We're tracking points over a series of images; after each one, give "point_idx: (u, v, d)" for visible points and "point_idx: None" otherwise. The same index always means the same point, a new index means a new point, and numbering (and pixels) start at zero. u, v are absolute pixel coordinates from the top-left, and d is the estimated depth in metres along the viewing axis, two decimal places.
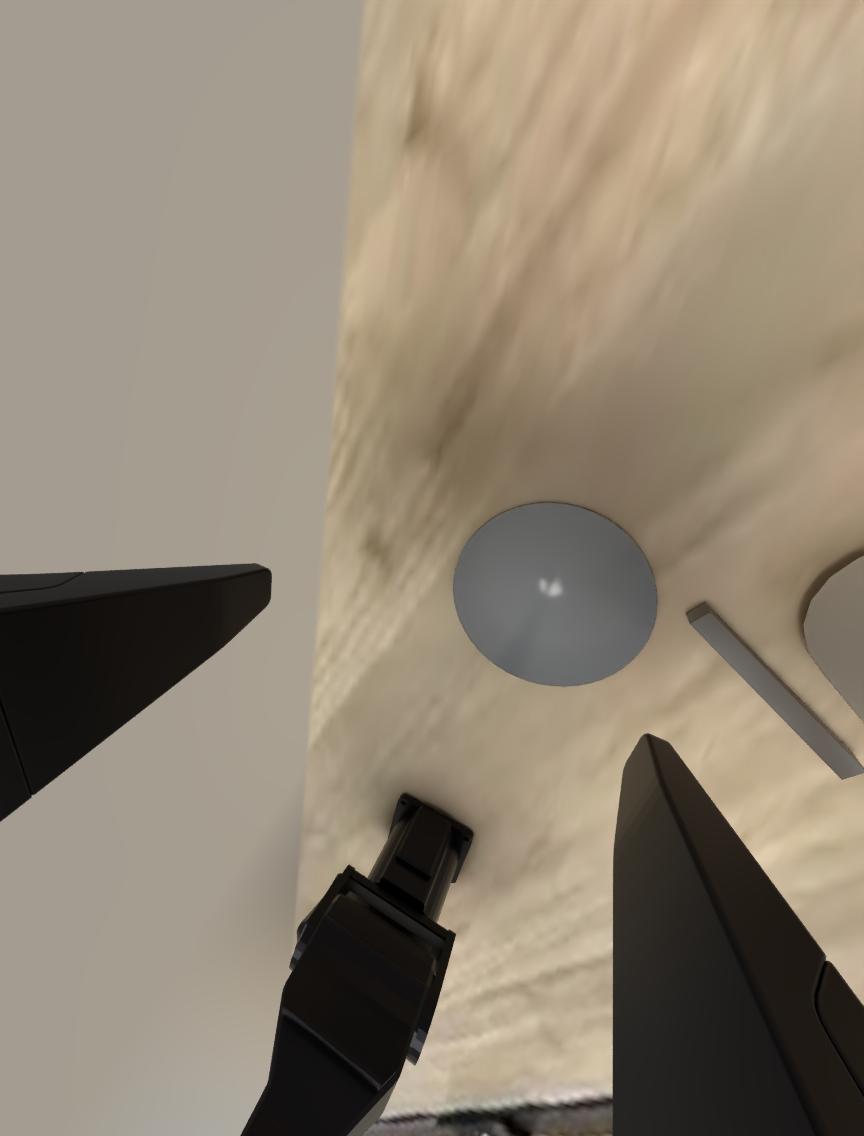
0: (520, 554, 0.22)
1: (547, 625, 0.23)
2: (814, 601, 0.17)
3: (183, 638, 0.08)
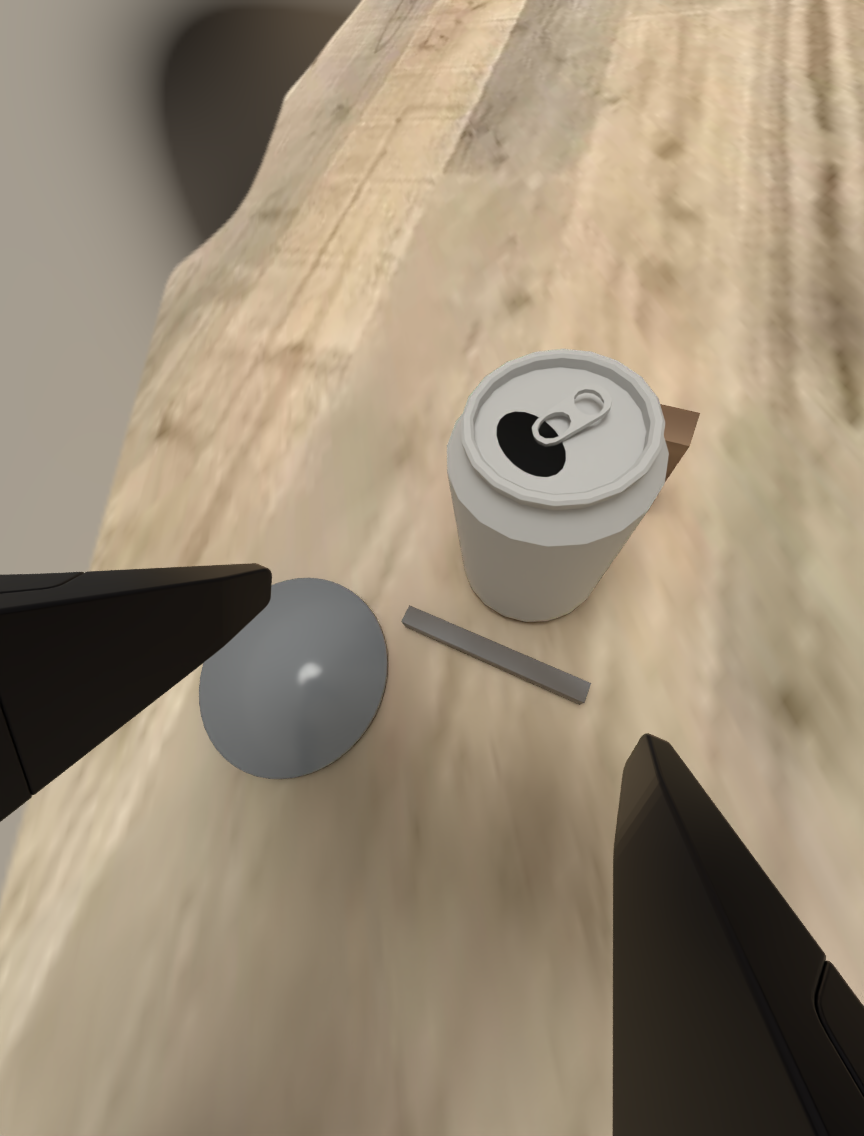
0: (259, 635, 0.24)
1: (298, 693, 0.22)
2: (464, 567, 0.23)
3: (183, 638, 0.08)
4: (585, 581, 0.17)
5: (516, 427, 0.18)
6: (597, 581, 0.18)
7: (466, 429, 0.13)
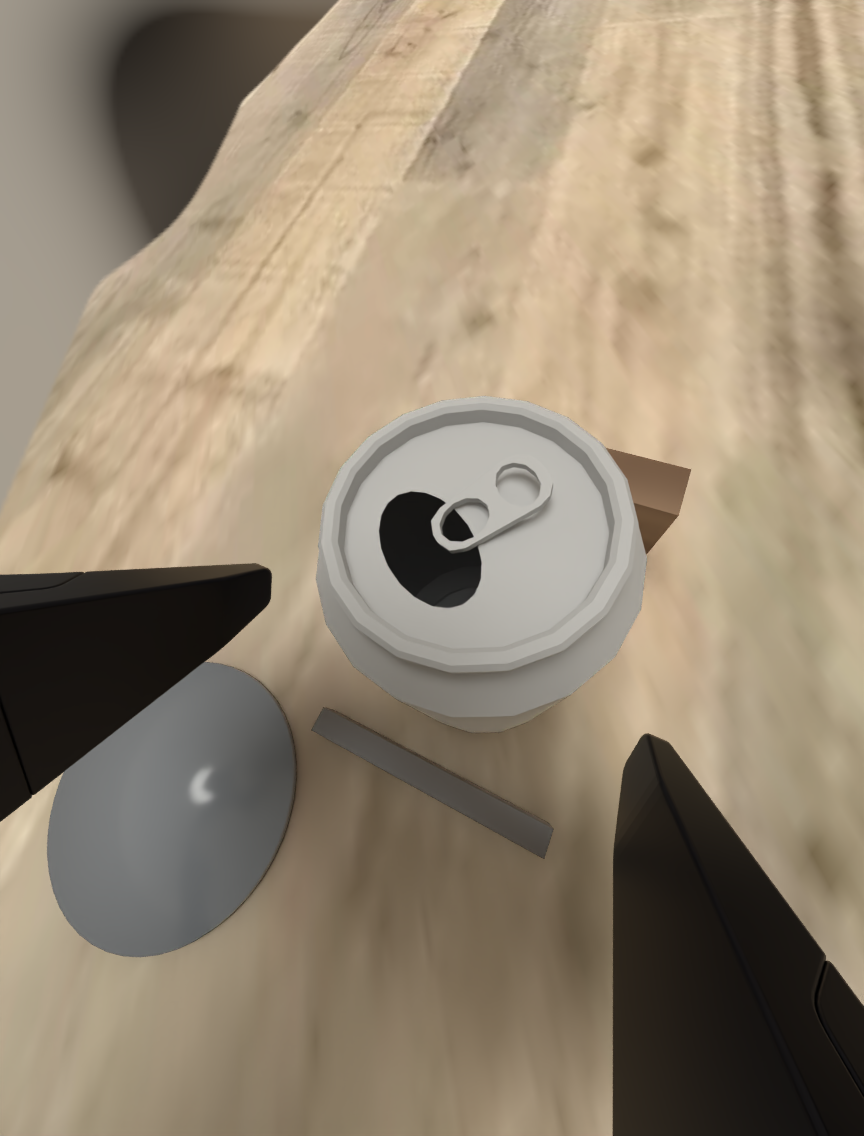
0: (135, 741, 0.18)
1: (175, 827, 0.17)
2: None
3: (183, 638, 0.08)
4: (536, 714, 0.12)
5: None
6: None
7: (327, 524, 0.08)
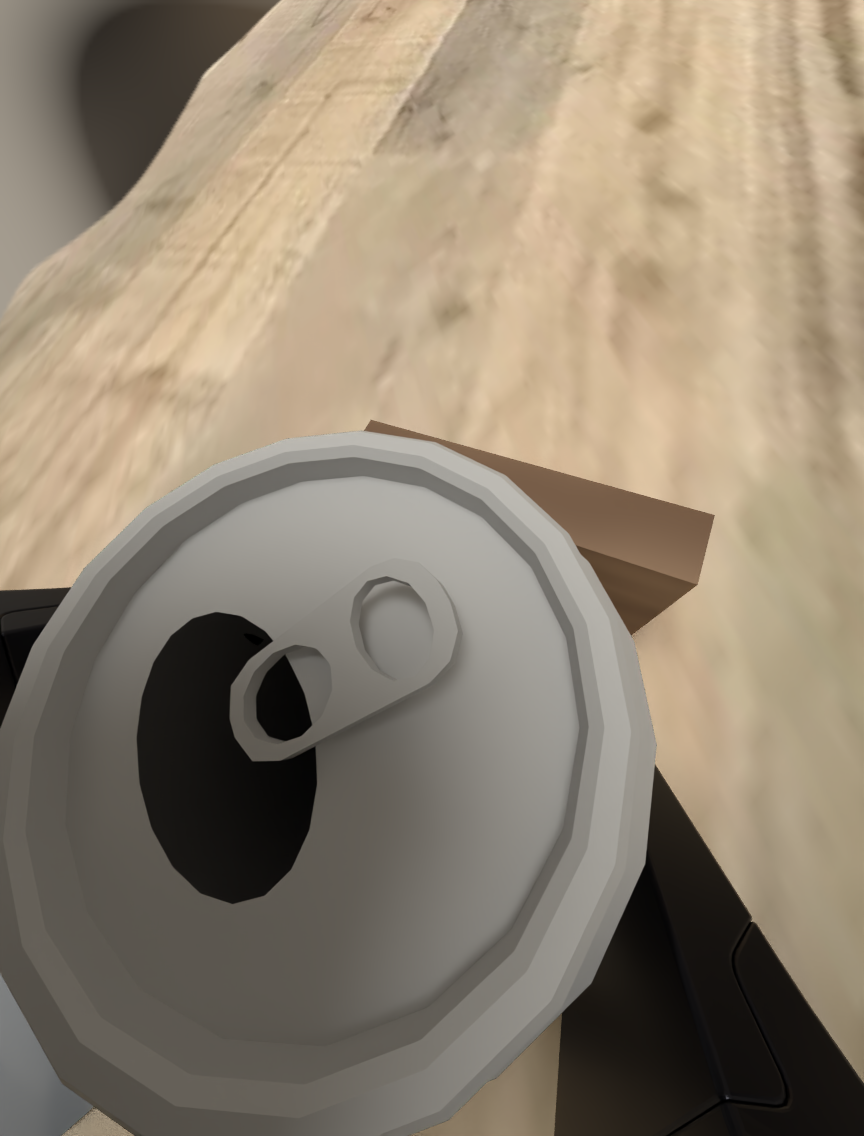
0: None
1: None
2: None
3: None
4: None
5: None
6: None
7: (21, 696, 0.04)
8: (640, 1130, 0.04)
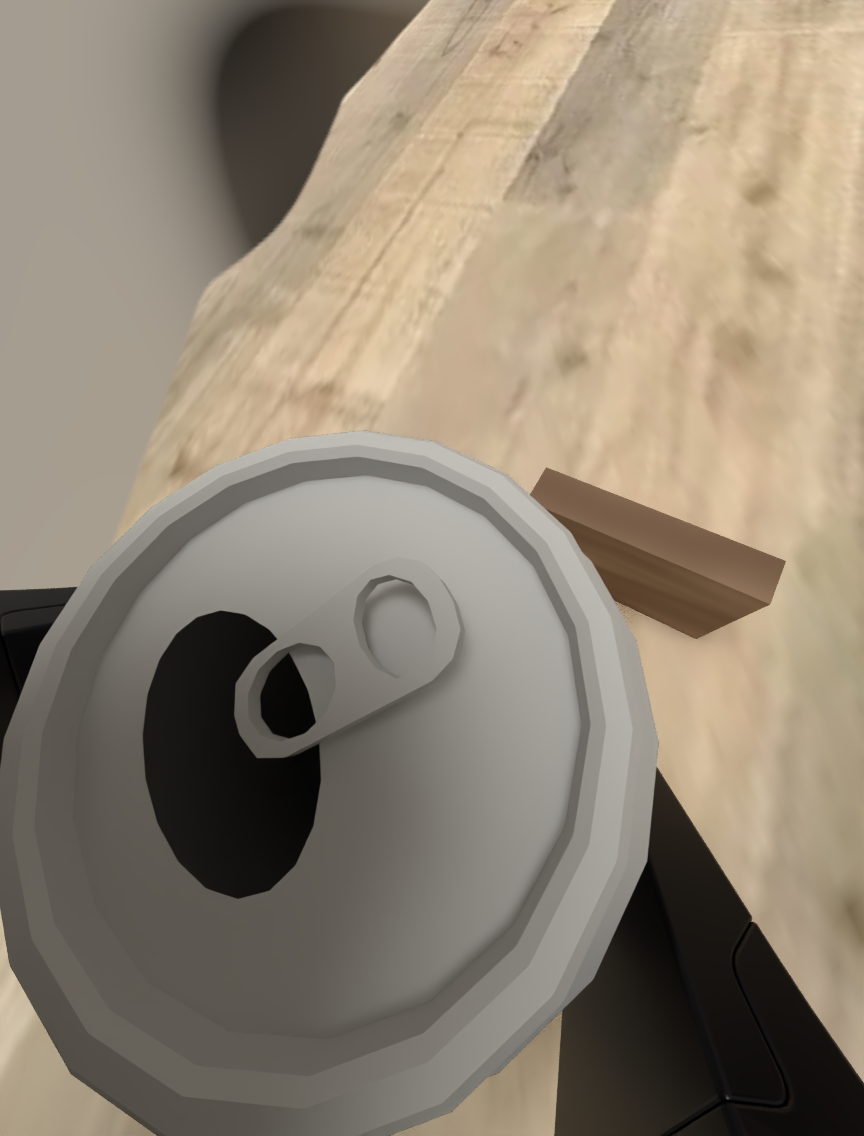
0: None
1: None
2: None
3: None
4: None
5: None
6: None
7: (29, 693, 0.04)
8: (640, 1130, 0.04)
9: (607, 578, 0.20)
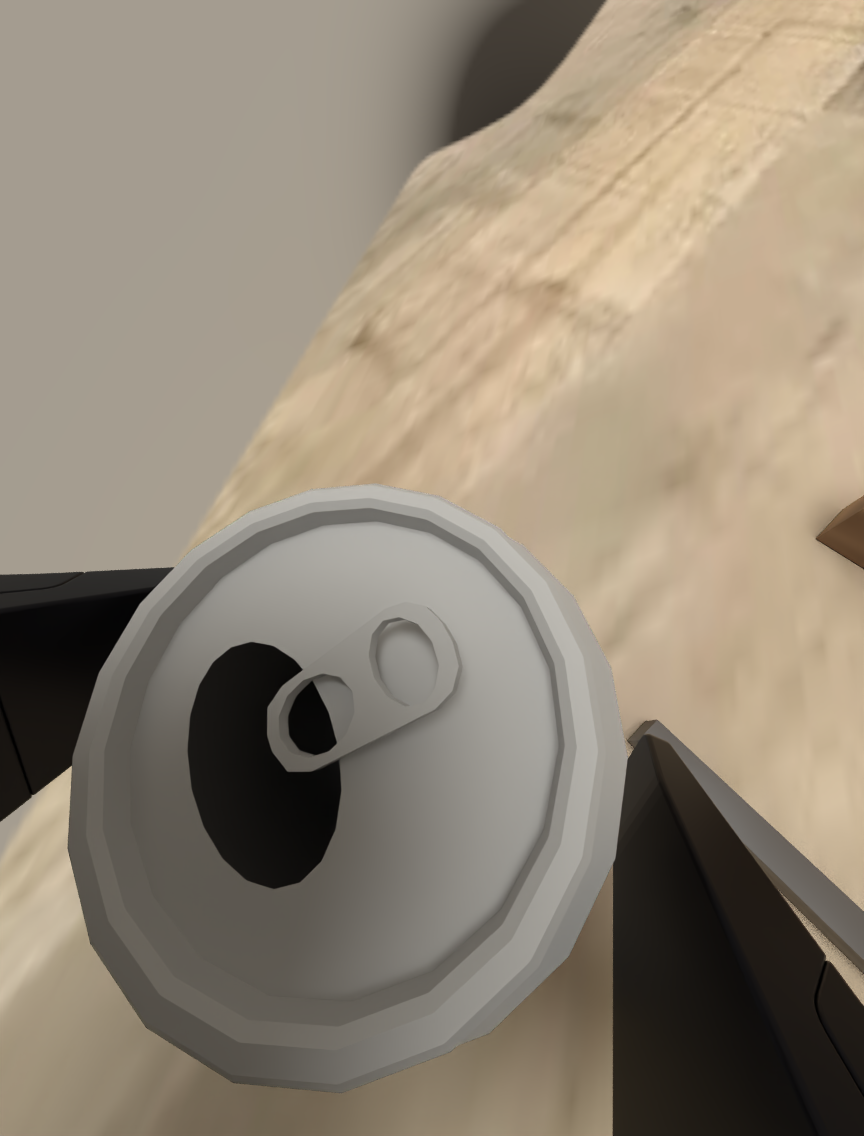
0: None
1: None
2: None
3: None
4: None
5: None
6: None
7: (92, 715, 0.05)
8: None
9: None
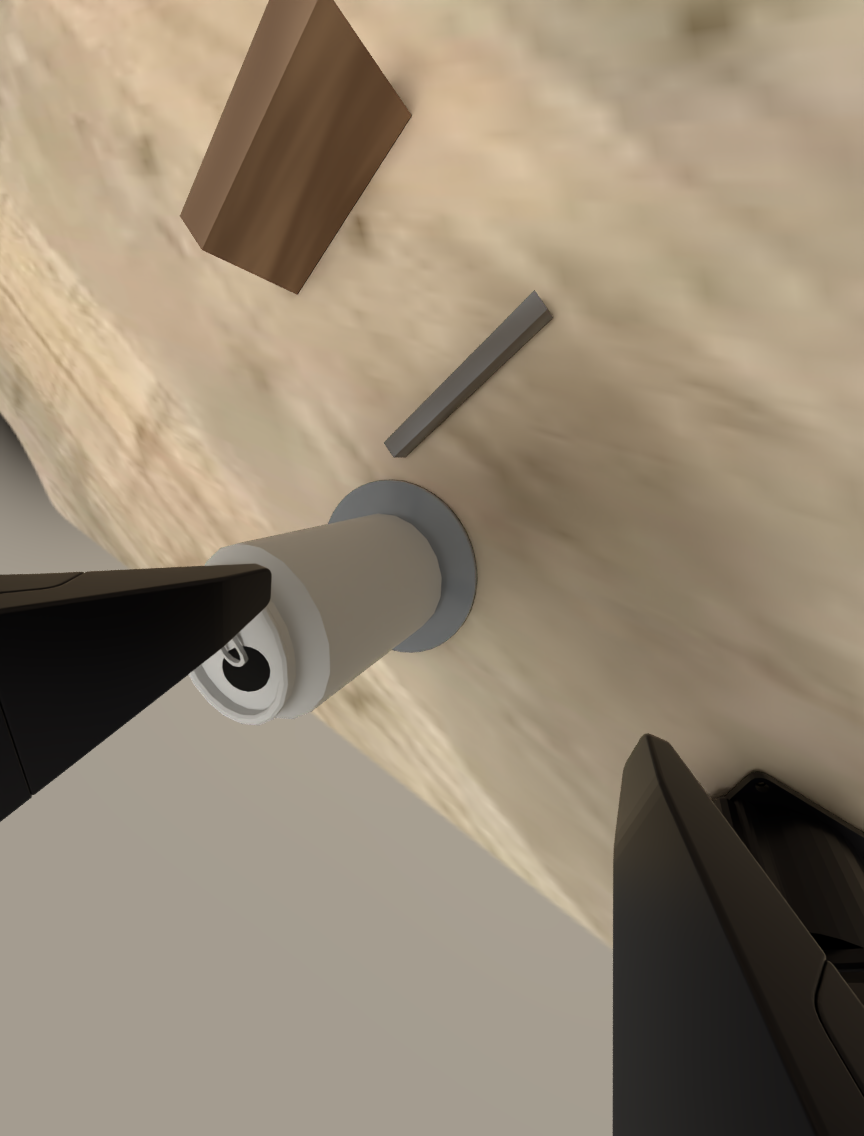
0: None
1: None
2: None
3: (183, 638, 0.08)
4: (388, 585, 0.18)
5: None
6: (398, 553, 0.20)
7: (232, 717, 0.16)
8: None
9: (317, 197, 0.20)
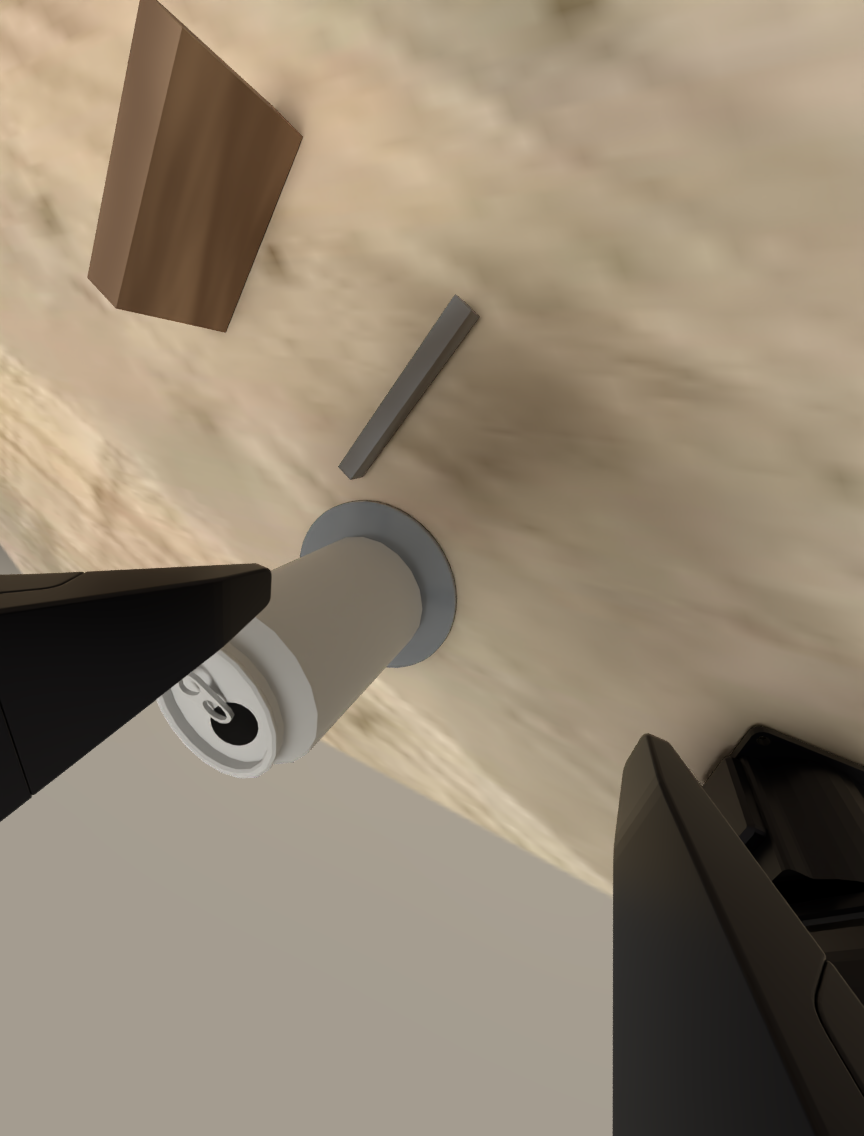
0: None
1: None
2: None
3: (183, 638, 0.08)
4: (363, 612, 0.18)
5: None
6: (370, 576, 0.20)
7: (230, 773, 0.16)
8: None
9: (224, 235, 0.19)
